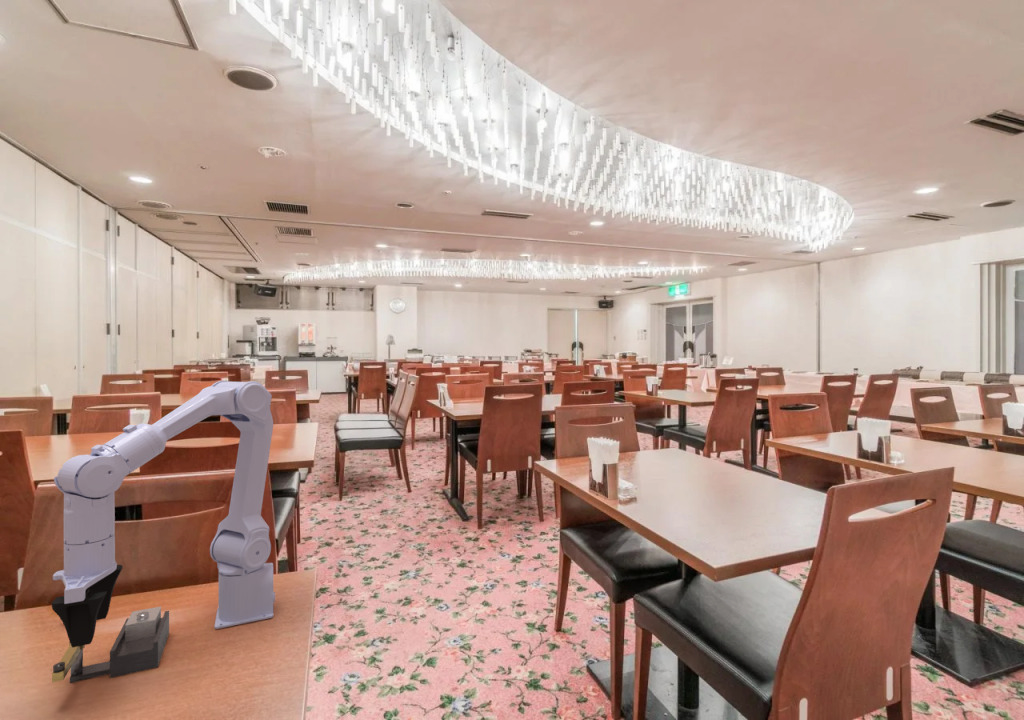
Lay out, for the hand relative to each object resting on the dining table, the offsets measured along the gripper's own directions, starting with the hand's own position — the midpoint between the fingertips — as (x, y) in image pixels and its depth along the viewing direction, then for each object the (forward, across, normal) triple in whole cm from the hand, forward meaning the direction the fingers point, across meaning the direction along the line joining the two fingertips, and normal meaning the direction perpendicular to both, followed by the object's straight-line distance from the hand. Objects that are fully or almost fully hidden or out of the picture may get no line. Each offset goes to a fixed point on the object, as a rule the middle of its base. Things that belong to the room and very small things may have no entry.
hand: (90, 631), depth 73 cm
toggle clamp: (+8, -7, +2) cm, 11 cm away
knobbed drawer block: (+5, -9, +5) cm, 11 cm away
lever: (+4, 0, -2) cm, 5 cm away
